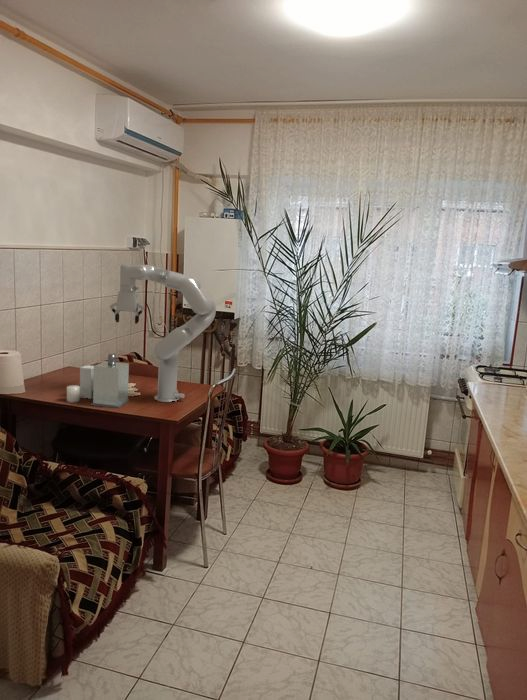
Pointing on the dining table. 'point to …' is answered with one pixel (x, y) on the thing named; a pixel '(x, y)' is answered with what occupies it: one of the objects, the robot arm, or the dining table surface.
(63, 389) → the dining table surface
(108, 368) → the beige box
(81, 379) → the skincare box
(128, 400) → the mat
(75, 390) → the white round cylinder
